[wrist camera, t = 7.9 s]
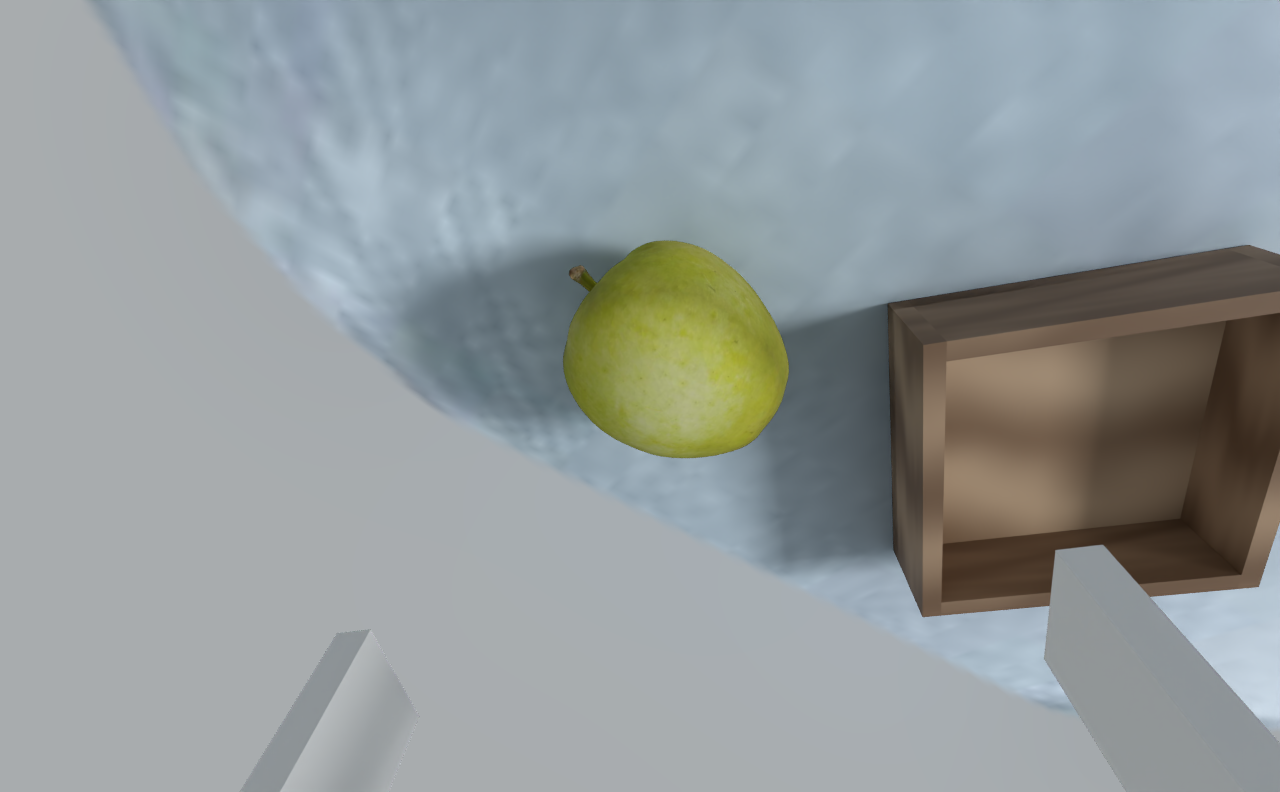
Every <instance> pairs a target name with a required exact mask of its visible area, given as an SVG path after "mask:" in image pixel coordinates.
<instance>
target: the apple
mask: <svg viewBox="0 0 1280 792" xmlns="http://www.w3.org/2000/svg"><path fill="white" fill-rule="evenodd" d="M569 276H570V277H571V279H573V280H575V281H576V282H578V283H579V284H581V285H582V286H583V287H585V288H586V289H587V290H588V291H589V293H588V294H587V296H586V297H585V298H584V300H583V301H582V303H581V304H580V306H579V308H578V310H577V312H576V313H575V315H574V317H573V319H572V321H571V324H570V327H569V332H568V338H567V342H566V346H565V350H564V356H563V367H564V374H565V379H566V382H567V385H568V387H569V390H570V392H571V394H572V395H573V397H574V399H575V401H576V402H577V404H578V405H579V407H580V408H581V409H582V411H583V412H584V413H585V414H586V415H587V416H588V418H589V419H590V420H591V421H592V422H593V423H594V424H595V425H596V426H597V427H599V428H600V429H601V430H602V431H604V432H605V433H607V434H608V435H610V436H611V437H613V438H614V439H616V440H618V441H620V442H622V443H624V444H626V445H629V446H631V447H633V448H636V449H638V450H641V451H644V452H647V453H650V454H653V455H658V456H663V457H672V458H698V457H708V456H715V455H719V454H723V453H727V452H731V451H734V450H737V449H740V448H742V447H744V446H746V445H748V444H749V443H751V442H752V441H753V440H755V439H756V438H757V437H758V435H759V434H760V433H761V432H762V430H763V429H764V428H765V426H766V425H767V424H768V423H769V422H770V421H771V419H772V418H773V416H774V415H775V413H776V412H777V410H778V408H779V406H780V403H781V401H782V398H783V395H784V391H785V388H786V384H787V380H788V375H789V363H788V358H787V353H786V350H785V346H784V343H783V340H782V337H781V335H780V333H779V330H778V328H777V326H776V324H775V322H774V320H773V319H772V317H771V315H770V313H769V312H768V310H767V309H766V307H765V306H764V304H763V302H762V301H761V299H760V298H759V296H758V295H757V294H756V292H755V291H754V290H753V289H752V287H751V286H750V285H749V284H748V283H747V282H746V281H745V280H744V278H743V277H742V276H741V275H740V274H739V273H738V272H736V271H735V270H734V269H733V268H732V267H731V266H729V265H728V264H727V263H726V262H724V261H723V260H722V259H720V258H719V257H717V256H716V255H714V254H712V253H711V252H709V251H707V250H705V249H703V248H700V247H698V246H695V245H692V244H688V243H683V242H678V241H655V242H650V243H646V244H644V245H642V246H640V247H638V248H636V249H635V250H633V251H632V252H631V253H630V254H629V255H628V256H627V257H626V258H625V259H624V260H622V261H621V262H619V263H618V264H616V265H615V266H614V267H612V268H611V269H610V270H609V271H608V272H607V273H606V274H605V275H604V276H603V277H602V279H601V280H600V281H599V282H598V283H597V282H595V281H594V280H593V278H592V277H591V276H590V275H589V274H588V272H587V271H586V269H585V268H584V267H583V266H581V265H580V266H577V267H573V268H572V269H571V270H570V271H569Z"/></svg>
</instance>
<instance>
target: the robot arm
mask: <svg viewBox="0 0 1280 792" xmlns="http://www.w3.org/2000/svg"><path fill="white" fill-rule="evenodd" d="M1044 660H1045V661H1046V663H1047V665H1048V666H1049V668H1050V669H1051V671H1052V673H1053V674H1054V676H1055V677H1056V679H1057V681H1058V682H1059V684H1060V686H1061V687H1062V689H1063V690H1064V692H1065V694H1066V695H1067V697H1068V699H1069V700H1070V702H1071V703H1072V705H1073V707H1074V708H1075V710H1076V711H1077V713H1078V715H1079V716H1080V718H1081V720H1082V721H1083V723H1084V724H1085V726H1086V728H1087V729H1088V731H1089V732H1090V734H1091V736H1092V737H1093V738H1094V741H1095V742H1096V744H1097V745H1098V747H1099V749H1100V750H1101V752H1102V754H1103V755H1104V757H1105V758H1106V760H1107V762H1108V763H1109V765H1110V767H1111V768H1112V770H1113V771H1114V773H1115V775H1116V776H1117V778H1118V779H1119V781H1120V783H1121V784H1122V786H1123V788H1124V789H1125V791H1126V792H1280V743H1279V741H1278V740H1277V739H1276V738H1275V737H1274V736H1273V735H1272V734H1271V733H1270V731H1269V730H1268V729H1267V728H1266V727H1265V726H1264V725H1263V724H1262V722H1261V721H1260V720H1259V719H1258V718H1257V717H1256V716H1255V715H1254V713H1253V712H1252V711H1251V710H1250V709H1249V708H1248V707H1247V706H1246V704H1245V703H1244V702H1243V701H1242V700H1241V699H1240V698H1239V697H1238V695H1237V694H1236V693H1235V692H1234V691H1233V690H1232V689H1231V688H1230V687H1229V685H1228V684H1227V683H1226V682H1225V681H1224V680H1223V679H1222V678H1221V676H1220V675H1219V674H1218V673H1217V672H1216V671H1215V670H1214V669H1213V667H1212V666H1211V665H1210V664H1209V663H1208V662H1207V661H1206V660H1205V658H1204V657H1203V656H1202V655H1201V654H1200V653H1199V652H1198V651H1197V649H1196V648H1195V647H1194V646H1193V645H1192V644H1191V643H1190V642H1189V641H1188V639H1187V638H1186V637H1185V636H1184V635H1183V634H1182V633H1181V632H1180V630H1179V629H1178V628H1177V627H1176V626H1175V625H1174V624H1173V623H1172V621H1171V620H1170V619H1169V618H1168V617H1167V616H1166V615H1165V614H1164V612H1163V611H1162V610H1161V609H1160V608H1159V607H1158V606H1157V605H1156V603H1155V602H1154V601H1153V600H1152V599H1151V598H1150V597H1149V596H1148V595H1147V593H1146V592H1145V591H1144V590H1143V589H1142V588H1141V587H1140V586H1139V584H1138V583H1137V582H1136V581H1135V580H1134V579H1133V578H1132V577H1131V575H1130V574H1129V573H1128V572H1127V571H1126V570H1125V569H1124V568H1123V566H1122V565H1121V564H1120V563H1119V562H1118V561H1117V560H1116V559H1115V557H1114V556H1113V555H1112V554H1111V553H1110V552H1109V551H1108V550H1107V549H1106V547H1105V546H1104V545H1096V546H1087V547H1079V548H1070V549H1061V550H1055V560H1054V569H1053V579H1052V588H1051V598H1050V607H1049V617H1048V626H1047V636H1046V645H1045V655H1044ZM418 719H419V714H418V713H417V711H416V709H415V707H414V706H413V704H412V702H411V700H410V698H409V697H408V695H407V693H406V691H405V690H404V688H403V686H402V684H401V682H400V681H399V679H398V677H397V675H396V674H395V672H394V670H393V668H392V667H391V665H390V663H389V661H388V659H387V658H386V656H385V654H384V652H383V651H382V649H381V647H380V645H379V643H378V642H377V640H376V638H375V636H374V634H373V633H372V631H371V630H361V631H353V632H345V633H337V634H336V636H335V637H334V639H333V641H332V642H331V644H330V646H329V647H328V649H327V651H326V652H325V654H324V655H323V657H322V659H321V660H320V662H319V664H318V665H317V667H316V668H315V670H314V672H313V673H312V675H311V677H310V678H309V680H308V682H307V683H306V685H305V686H304V688H303V690H302V691H301V693H300V694H299V696H298V698H297V699H296V701H295V703H294V704H293V706H292V707H291V709H290V711H289V712H288V714H287V716H286V718H285V719H284V721H283V722H282V724H281V725H280V727H279V729H278V730H277V732H276V734H275V735H274V737H273V738H272V740H271V742H270V743H269V745H268V747H267V748H266V750H265V752H264V753H263V755H262V756H261V758H260V760H259V761H258V763H257V765H256V766H255V768H254V769H253V771H252V773H251V775H250V776H249V778H248V779H247V781H246V782H245V784H244V786H243V787H242V789H241V791H240V792H389V790H390V788H391V785H392V783H393V780H394V778H395V775H396V773H397V771H398V768H399V766H400V763H401V761H402V758H403V756H404V753H405V751H406V748H407V746H408V744H409V741H410V739H411V736H412V733H413V731H414V729H415V726H416V724H417V721H418Z"/></svg>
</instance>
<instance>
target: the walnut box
mask: <svg viewBox="0 0 1280 792" xmlns="http://www.w3.org/2000/svg"><path fill="white" fill-rule="evenodd" d="M888 336H889V378H890V420H891V462H892V504H893V546H894V552H895V554H896V557H897V559H898V561H899V564H900V566H901V568H902V571H903V573H904V575H905V577H906V580H907V582H908V584H909V587H910V589H911V591H912V594H913V596H914V598H915V601H916V603H917V605H918V608H919V610H920V612H921V615H922V617H929V616H941V615H952V614H963V613H974V612H985V611H996V610H1008V609H1019V608H1030V607H1041V606H1050V598H1051V588H1052V579H1053V569H1054V560H1055V550H1061V549H1070V548H1079V547H1087V546H1096V545H1104V546H1105V547H1106V549H1107V550H1108V551H1109V552H1110V553H1111V554H1112V555H1113V556H1114V557H1115V559H1116V560H1117V561H1118V562H1119V563H1120V564H1121V565H1122V566H1123V568H1124V569H1125V570H1126V571H1127V572H1128V573H1129V574H1130V575H1131V577H1132V578H1133V579H1134V580H1135V581H1136V582H1137V583H1138V584H1139V586H1140V587H1141V588H1142V589H1143V590H1144V591H1145V592H1146V593H1147V595H1148V596H1149V597H1153V596H1164V595H1175V594H1186V593H1197V592H1208V591H1220V590H1231V589H1242V588H1253V587H1259V584H1260V581H1261V578H1262V575H1263V572H1264V569H1265V566H1266V563H1267V560H1268V557H1269V553H1270V550H1271V547H1272V544H1273V541H1274V538H1275V535H1276V532H1277V529H1278V526H1279V523H1280V255H1279V254H1276V253H1273V252H1270V251H1267V250H1263V249H1260V248H1257V247H1254V246H1251V245H1246V246H1239V247H1233V248H1227V249H1221V250H1215V251H1209V252H1202V253H1196V254H1190V255H1184V256H1178V257H1172V258H1165V259H1159V260H1153V261H1147V262H1141V263H1135V264H1128V265H1122V266H1116V267H1110V268H1104V269H1098V270H1091V271H1085V272H1079V273H1073V274H1067V275H1060V276H1054V277H1048V278H1042V279H1036V280H1030V281H1023V282H1017V283H1011V284H1005V285H999V286H993V287H986V288H980V289H974V290H968V291H962V292H956V293H949V294H943V295H937V296H931V297H925V298H919V299H912V300H906V301H900V302H894V303H888Z"/></svg>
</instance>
